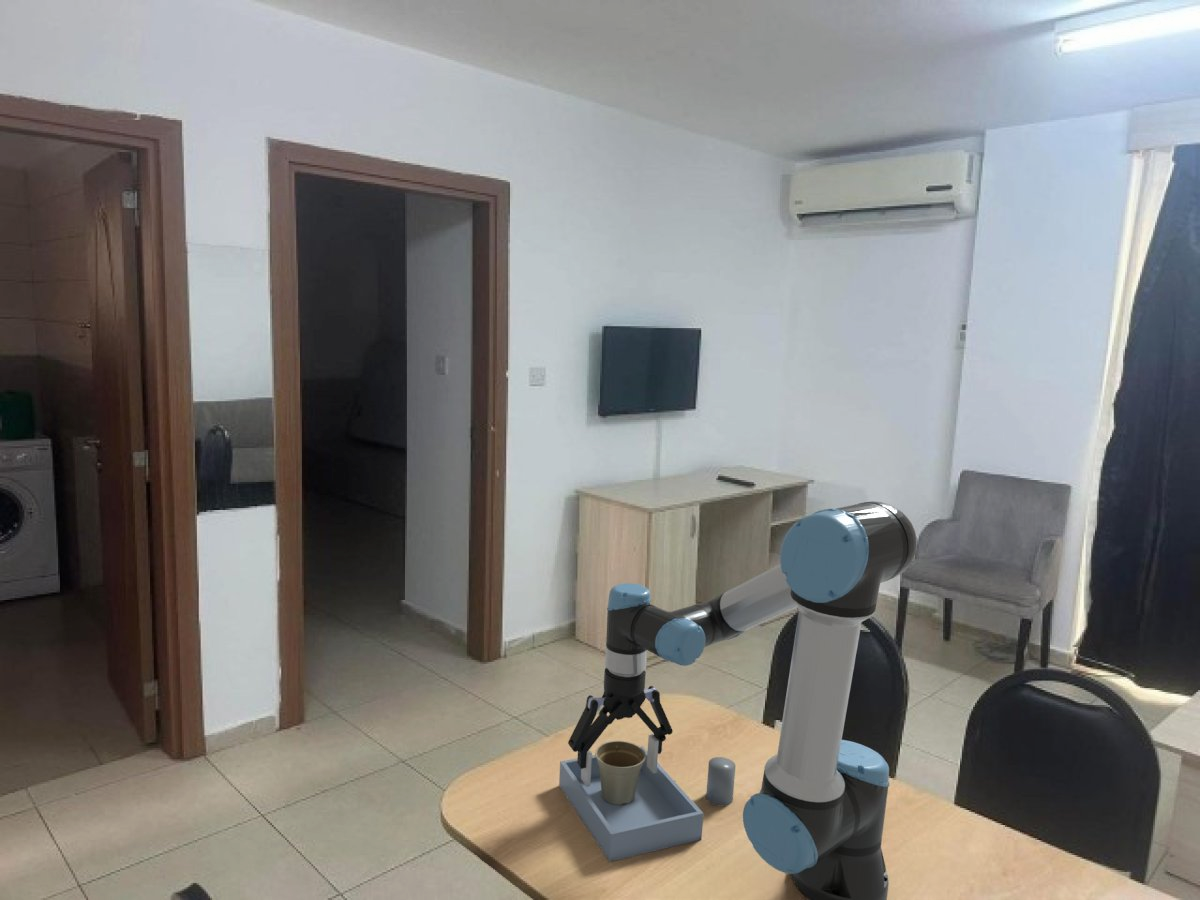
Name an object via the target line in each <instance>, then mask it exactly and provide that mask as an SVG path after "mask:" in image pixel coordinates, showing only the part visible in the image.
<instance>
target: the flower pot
mask: <svg viewBox="0 0 1200 900" xmlns="http://www.w3.org/2000/svg"><path fill="white" fill-rule="evenodd" d="M594 755H595V756H596V758H597V761H598V764H599V769H600V780H601V791H602V796H603V798H604V799H605V800H606V801H607V802H609V803H612V804H616V805H621V804H623V803H627V804H628V803H630V802H631V801H633V799H634V797H635V792H636V787H637V782H638V778H639V773H640V769H641V767H642V765H643V762H644V761H645V759H646V754H645V751H644V750H643V749H642V748H641V746H640V745H637V744H636V743H633V742H629V741H624V740H611V741H606V742H603V743H601V744H600V745H599V746H597V747H596V749H595V752H594Z"/></svg>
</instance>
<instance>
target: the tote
mask: <svg viewBox="0 0 1200 900" xmlns="http://www.w3.org/2000/svg"><path fill="white" fill-rule="evenodd" d="M640 747H641V748H642V749H643V750H644V751H645V754H646V759H645V761H644V762H643V765H642V767H641V769H640V773H639V778H638V782H637V787H636V792H635V797H634V799H633V801H631V802H630V803H628V804H627V803H623V804H621V805H616V804H612V803H609V802H607V801H606V800H605V799H604V798H603V796H602V791H601V780H600V769H599V764H598V761H597V758H596V756H595V754H594V755H593V754H592V762H591V781H590V786H588V787H586V786H585V784H584V783H583V781H582V780H581V768H580V767H579V765H578V763H577V760H578V759H577V758H573V759H566V760H562V761H561V760H560V763H559V783H558V785H559V786H558V787H560V789H561V790H562V793H563V794H564V795H565V797H566V799H567V800H568V801H569V803H570V804H571V806H572V807H573V808H574V811H575V812H576V814H577V815H578V816H579V818H580V819H581V821H582V822H583V824H584V826H585V827H586V829H587V831H588V832H589V834H591V836H592V838H593V839H594V840H595V842H596V843H597V845H598V847H599V848H600V850H601V851H602V853H603V854H604V856H605V857H606V858H607V861H608V862H615V861H618V860H622V859H627V858H631V857H636V856H639V855H643V854H646V853H647V854H648V853H652V852H655V851H659V850H660V851H661V850H663V849H667V848H672V847H675V846H680V845H683V844H688V843H693V842H697V841H701V840H702V838H703V835H702V834H703V824H704V812H703V811H702V810H701V808H699V807H698V805H697V804H696V803H695V802H694V801H693V799H692V798H690V796H689V795H687V793H686V792H685V791H684V790H683V789H682V787H680V786H679V785H678V783H677V782H676V781H675V780H674V779H673V778H672V777H671V775H669V774H668V773H667V771H666V770H665V769H664V768H663V766H661V765H660V764H659V762H658V761H657V773H652V772H651V770H650V769H649V768H648V767H647V753H648V749H646V748H645V747H644V746H640Z"/></svg>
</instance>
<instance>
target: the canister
mask: <svg viewBox="0 0 1200 900" xmlns="http://www.w3.org/2000/svg"><path fill="white" fill-rule="evenodd" d="M707 768H708V769H707V780H706V781H707V783H706V791H705V792H706V793H705V794H706V795H705V797H706V800H707V801H708V802H709V803H710V804H713V805H715V806H717V807H718V806H719V807H725V806H729V805H731V804H732V803H733V801H734V788H735V779H736V777H735V776H736V764H735V762H734V761H733V760H732V759H730V758H727V757H724V756H723V757H722V756H716V757H712V758H710V759H709V761H708V767H707Z"/></svg>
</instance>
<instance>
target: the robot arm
mask: <svg viewBox="0 0 1200 900" xmlns="http://www.w3.org/2000/svg"><path fill="white" fill-rule="evenodd" d="M917 540H918V539H917V533H916V530H915V528H914V526H913V524H912V522H911V520H910V519H909V517H908V516H907V515H906V514H904V513H903V511H901V509H898V508H897V507H896V506H893V505H892V504H889V503H885V502H882V501H865V502H864V501H863V502H860V503H855V504H852V505H846V506H843V507H837V508H826V509H820V510H818V511H815V512H813V513H811V514H810V515H806V516H804V517H802V518H800V519H799V520H797V521H796V522H794V524H792V525H791V527H790V528H789V529H788V531H787V532H786V534H785V536H784V539H783V540H782V544H781V547H780V552H779V553H780V554H779V560H780V561H779V562H780V564H778V565H775V566H773V567H772V568H770V569H768V570H766V571H764V572H762V573H760V574H759V575H756V576H754V577H753V578H751V579H748V580H747V581H744V582H743V583H740V584H739V585H737V586H734V587H733V588H731V589H729V590H727V591H725V592H724V593H720V594H719V595H717V596H715V597H713V598H711V599H709V600H707V601H704V602H701V603H698V604H694V605H690V606H686V607H682V608H679V609H675V610H673V611H668V610H665V609H662V608H660V607H658V606H655V605H653V604H651V601H652V599H651V591H650V590H649V589H648V587H646V586H644V585H642V584H638V583H620V584H616V585H614V586H613V587H612V588H611V589H610V590H609V595H608V600H607V601H608V603H607V608H606V611H607V612H606V613H607V618H606V622H607V623H606V637H605V638H606V640H605V656H604V657H605V658H604V667H605V669H604V677H603V694H602V696H601V697H594V696H593V695H591V694H590V695H588V696H587V697H586V701H585V702H586V703H585V708H584V710H583V711H582V713H581V715H580V718H579V720H578V721H577V723H576V726H575V728H574V729H573V732H572V733H571V735H570V737H569V740H568V741H567V744H568V745H569V747H570V748H571V750H572V751H573V752H575V753H577V758H576V759H578V760H577V763H578V765H579V767H580V768H581V780H582V781H583V783H584V784H585V786H586V787H588V786H590V781H591V762H592V756H593V753H592V751H591V750H590V749H591V748H592V746H594V744H595V743H596V741H597V740H598V739H599V738H600V737H601V735H602V734H603V732H604V731H605V730H606V729H607V727H608V726H609V725H611V724H613V722H615V720H618V721H619V720H623V719H625V718H626V719H631V718H633V716H634V715H637V717H638V718H640V719H641V720H642V722H643V723H644V724H645V725H646V727H647V728H648V729H649V730H650V731H651V732H652V733H649V734H648V738H647V739H648V740H647V751H648V753H647V767H648V768H649V769H650V770H651V772H652V773H657V762H658V760H659V759H658V758H659V757H658V756H659V755H660V754H661V753H662V751H663V750H662V749H663V742H665V741H666V740H667V739H666V738H667V737H666V736H667V735H668V736H670V735H672V733H673V729H672V726H671V723H670V722H669V719H668V717H667V714H666V713H665V710H664V708H663V704H661V697H660V696H661V695H660V691H658V690H657V689H656V688H655V687H654V686H653V685H650V686H649V687H648V688H647V689H646V687H645V686H646V669H647V658H648V657H647V656H648V655H647V654H648V652H650V653H652V654H653V655H656V656H657V657H660V658H661V659H663V660H664V661H667V662H670V663H674V664H676V665H678V666H683V667H686V666H691V665H692V664H694V663H695V662H696V660H697V659H698V658H700V657H701V656H702V654H703V652H704V649H705V648H706V647H708V646H711V645H714V644H717V643H720V642H724V641H726V640H727V641H729V640H731V639H734V638H737V637H739V636H740V635H742V634H744V633H745V632H746V631H747V630H749V629H752V628H755V627H757V626H759V625H761V624H763V623H765V622H767V621H770V620H772V619H774V618H776V617H779V616H781V615H784V614H786V613H788V612H790V611H792V610H795V609H798V614H797V621H796V628H795V635H794V642H793V648H792V655H791V661H790V667H789V674H788V675H789V676H788V680H787V688H786V696H785V702H784V708H783V715H782V721H781V728H780V735H779V741H778V748H777V754H775V755H773V756H771V757H769V758H768V759H767V761H766V762H765V764H764V769H763V776H762V782H761V788H760V790H759V792H757V793H755V794H752V795H751V796H750V798H749V799H748V800H747V801H746V802H745V804H744V807H743V810H742V821H743V828H744V831H745V833H746V836H747V839H748V840H749V841H750V843H751V845H752V848H753V849H754V850H755V852H756V853H757V854H758V856H759V857H760V858H761V859H762V860H763V861H764V862H765V863H767V864H768V865H769V866H770V867H772V868H774V869H775V870H777V871H779V872H781V873H784V874H789V875H791V878H792V882H793V883H794V885H795V886H796V888H797V889H798V890H799V891H800V893H802V894H803V896H804V897H806V898H807V899H809V900H887V898H888V892H889V884H890V883H889V876H888V871H887V868H886V862H885V859H884V855H883V849H882V840H883V833H884V832H883V831H884V824H885V823H884V822H885V818H886V817H885V816H886V808H887V807H886V806H887V799H888V791H889V786H890V780H889V779H890V767H889V764H888V763H887V761H886V760H885V758H884V757H883V756H882V755H881V754H879V752H878V751H876V750H873V749H872V748H870V747H868V746H865V745H863V744H860V743H858V742H854V741H851V740H846V739H842V738H843V733H844V727H845V722H846V715H847V709H848V706H849V705H848V704H849V698H850V692H851V687H852V681H853V673H854V670H855V663H856V655H857V651H858V645H859V640H860V633H861V627H862V622H864V621H866V620H868V619H869V618H871V617H872V616H873V615H874V614H875V612H876V609H877V603H878V597H879V591H880V587H881V584H882V583H884V582H888V581H890V580H893V579H895V578H896V577H898V576H900V575H901V574H903V573H904V572H905V571H906V570H907V569H908V568H909V567H910V565H911V563H912V562H913V560H914V558H915V556H916V552H917V548H918V545H917V544H918V542H917ZM646 700H647V701H648V702H649V703H650V705H651V708H652V710H653V713H654V714H655V717H656V719H657V721H658V723H659V725H660V726H657V725H656V724H655V722H654V721H652V719H651V718H650V717H649V716H648V715H647V713H646V712H645V711H644V710H643V709H642V708H641V707H642V706H643V703H644V702H645V701H646ZM601 706H602V708H601ZM597 712H598V715H597ZM608 713H609V714H608ZM596 715H597V716H596ZM595 718H596V719H595Z"/></svg>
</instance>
